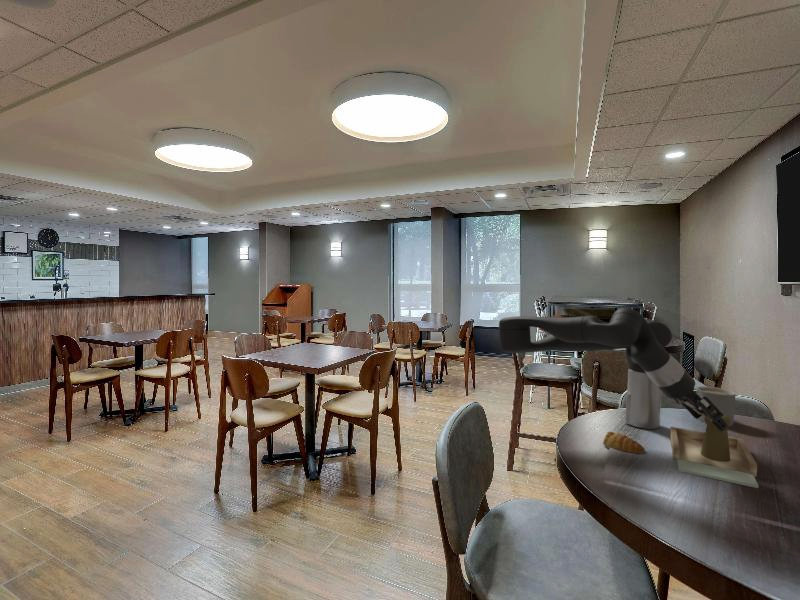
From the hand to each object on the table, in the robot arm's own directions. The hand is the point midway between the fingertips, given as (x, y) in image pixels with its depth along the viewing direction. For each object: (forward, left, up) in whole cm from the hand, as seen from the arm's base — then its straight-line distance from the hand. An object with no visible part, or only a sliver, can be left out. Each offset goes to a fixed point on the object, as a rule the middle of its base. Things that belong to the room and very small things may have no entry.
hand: (711, 422), depth 102 cm
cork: (+1, +2, -9) cm, 9 cm away
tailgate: (0, -6, -10) cm, 11 cm away
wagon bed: (0, +4, -10) cm, 11 cm away
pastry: (-19, -3, -11) cm, 22 cm away
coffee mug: (+5, +41, -10) cm, 42 cm away
